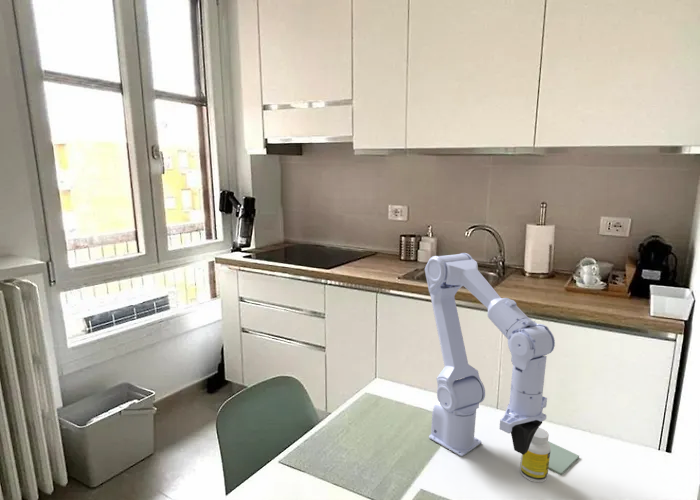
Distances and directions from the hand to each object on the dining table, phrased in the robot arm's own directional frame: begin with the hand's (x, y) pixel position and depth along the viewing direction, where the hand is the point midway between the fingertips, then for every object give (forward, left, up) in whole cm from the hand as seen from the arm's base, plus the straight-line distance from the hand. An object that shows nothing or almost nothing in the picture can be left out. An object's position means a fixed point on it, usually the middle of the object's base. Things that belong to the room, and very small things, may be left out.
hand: (520, 451), depth 91 cm
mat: (0, +16, -9) cm, 18 cm away
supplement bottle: (0, +7, -9) cm, 11 cm away
